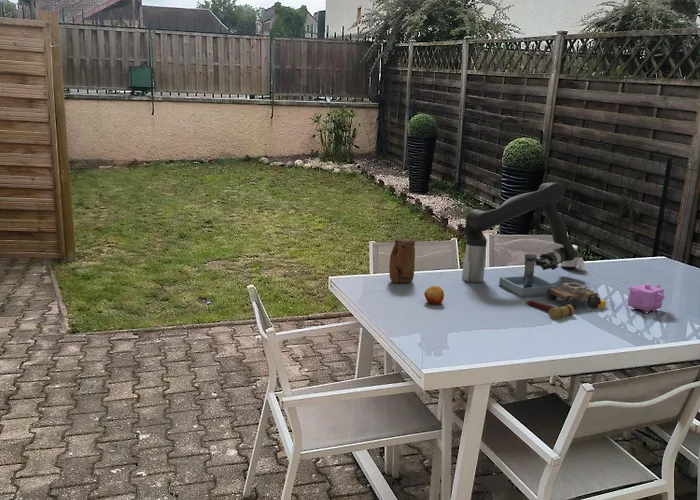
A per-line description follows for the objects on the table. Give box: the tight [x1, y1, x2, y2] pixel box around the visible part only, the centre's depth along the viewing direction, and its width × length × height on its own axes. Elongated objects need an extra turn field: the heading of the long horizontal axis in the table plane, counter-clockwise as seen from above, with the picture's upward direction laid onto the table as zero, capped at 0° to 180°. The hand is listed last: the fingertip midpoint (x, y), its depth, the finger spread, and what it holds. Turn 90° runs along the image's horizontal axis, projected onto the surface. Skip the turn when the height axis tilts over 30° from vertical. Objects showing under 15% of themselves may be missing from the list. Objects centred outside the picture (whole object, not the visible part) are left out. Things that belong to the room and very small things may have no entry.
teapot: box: [627, 283, 666, 313], centre depth 262 cm, size 15×13×11 cm
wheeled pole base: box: [546, 282, 601, 311], centre depth 267 cm, size 16×15×8 cm
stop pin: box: [523, 253, 538, 288], centre depth 283 cm, size 5×5×15 cm
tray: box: [498, 275, 558, 298], centre depth 284 cm, size 18×18×4 cm
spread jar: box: [560, 244, 585, 272], centre depth 324 cm, size 12×11×12 cm
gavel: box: [525, 299, 575, 320], centre depth 257 cm, size 21×5×10 cm
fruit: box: [423, 285, 445, 305], centre depth 262 cm, size 8×8×8 cm
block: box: [388, 237, 416, 284], centre depth 289 cm, size 11×8×20 cm
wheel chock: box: [596, 298, 607, 309], centre depth 264 cm, size 4×3×3 cm
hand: (534, 265), depth 286 cm, fingers open, 8 cm apart
